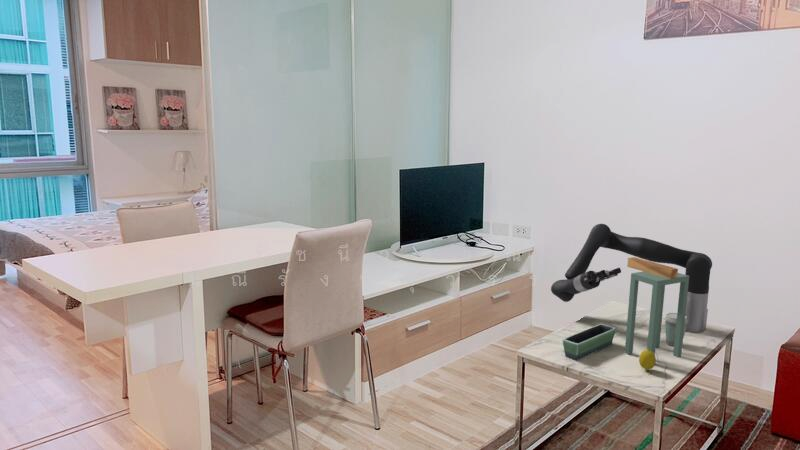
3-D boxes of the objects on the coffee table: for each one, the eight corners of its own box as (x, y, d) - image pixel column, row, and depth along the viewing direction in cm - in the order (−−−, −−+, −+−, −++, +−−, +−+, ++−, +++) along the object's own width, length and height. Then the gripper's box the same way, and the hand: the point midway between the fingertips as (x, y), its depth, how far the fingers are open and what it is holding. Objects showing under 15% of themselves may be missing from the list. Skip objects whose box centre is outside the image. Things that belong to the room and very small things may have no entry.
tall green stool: (655, 345, 235) (662, 268, 229) (681, 356, 224) (689, 275, 219) (624, 352, 227) (631, 273, 222) (650, 364, 217) (657, 281, 211)
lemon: (635, 367, 214) (637, 346, 213) (649, 366, 215) (651, 346, 213) (642, 373, 209) (644, 352, 207) (657, 373, 209) (659, 352, 208)
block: (633, 265, 233) (634, 257, 233) (677, 277, 216) (677, 268, 215) (627, 266, 232) (628, 258, 231) (670, 279, 214) (671, 269, 213)
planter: (577, 362, 218) (578, 344, 217) (560, 356, 224) (561, 339, 222) (615, 345, 236) (617, 328, 235) (599, 339, 241) (600, 323, 240)
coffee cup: (665, 347, 233) (668, 318, 231) (659, 339, 242) (662, 311, 240) (688, 348, 232) (691, 319, 230) (681, 340, 240) (684, 312, 238)
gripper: (571, 275, 252) (597, 264, 239) (595, 271, 259) (622, 260, 245) (576, 291, 250) (602, 281, 237) (601, 287, 257) (628, 277, 243)
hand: (612, 271), depth 241 cm, fingers open, 8 cm apart
